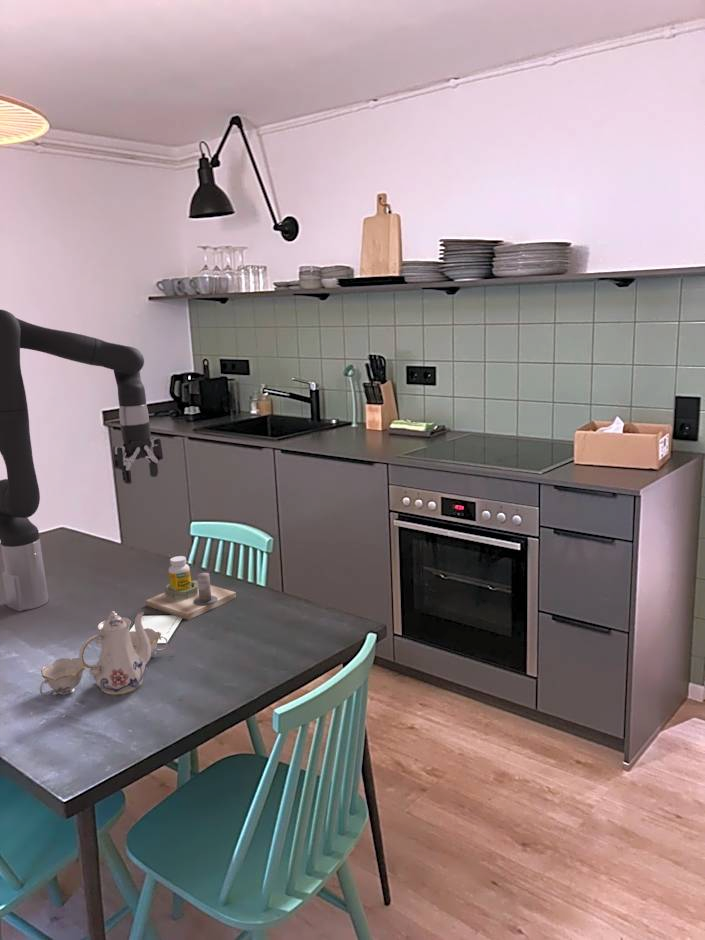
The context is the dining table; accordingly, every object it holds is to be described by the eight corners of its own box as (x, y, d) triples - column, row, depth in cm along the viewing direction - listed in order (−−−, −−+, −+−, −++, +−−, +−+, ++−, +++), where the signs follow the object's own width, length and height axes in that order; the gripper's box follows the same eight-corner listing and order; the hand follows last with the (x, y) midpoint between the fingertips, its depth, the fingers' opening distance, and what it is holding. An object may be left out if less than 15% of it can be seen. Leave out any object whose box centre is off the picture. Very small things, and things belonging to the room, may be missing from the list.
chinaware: (148, 651, 174) (135, 581, 171) (194, 663, 163) (182, 589, 161) (32, 705, 153) (16, 627, 150) (77, 723, 142) (61, 640, 140)
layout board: (189, 620, 185) (186, 587, 183) (146, 605, 195) (143, 574, 193) (237, 598, 197) (234, 567, 195) (195, 585, 207) (192, 555, 205)
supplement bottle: (184, 587, 202) (181, 553, 200) (196, 593, 198) (192, 558, 196) (167, 593, 198) (163, 559, 196) (178, 599, 194) (174, 563, 192)
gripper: (147, 416, 213) (153, 472, 217) (103, 424, 202) (110, 484, 206) (164, 418, 208) (170, 475, 212) (120, 426, 197) (127, 487, 201)
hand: (141, 479), depth 209 cm, fingers open, 8 cm apart
